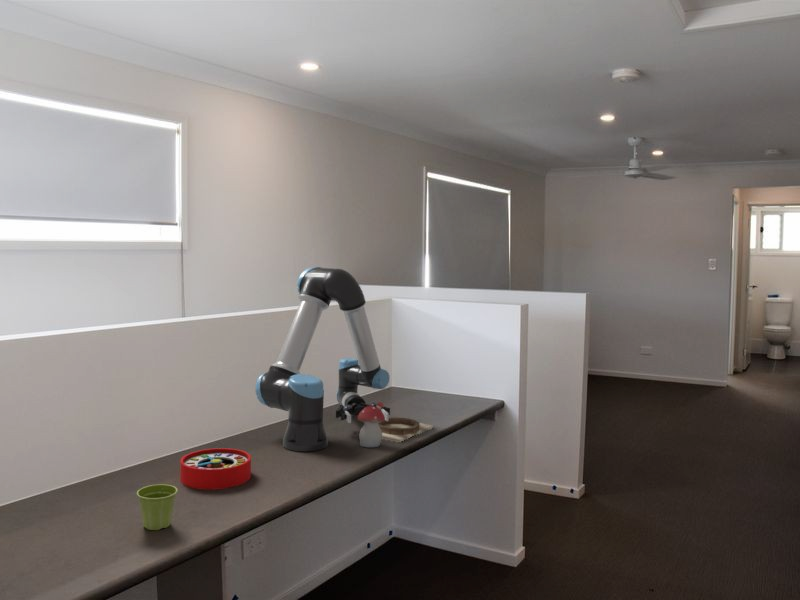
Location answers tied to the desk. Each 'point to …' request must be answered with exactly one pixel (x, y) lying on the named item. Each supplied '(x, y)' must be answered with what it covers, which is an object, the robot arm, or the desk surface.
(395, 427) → the collar board
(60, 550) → the desk surface
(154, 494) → the plant pot
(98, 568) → the desk surface
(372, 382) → the robot arm
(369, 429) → the decorative ornament
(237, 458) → the toy clock
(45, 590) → the desk surface
